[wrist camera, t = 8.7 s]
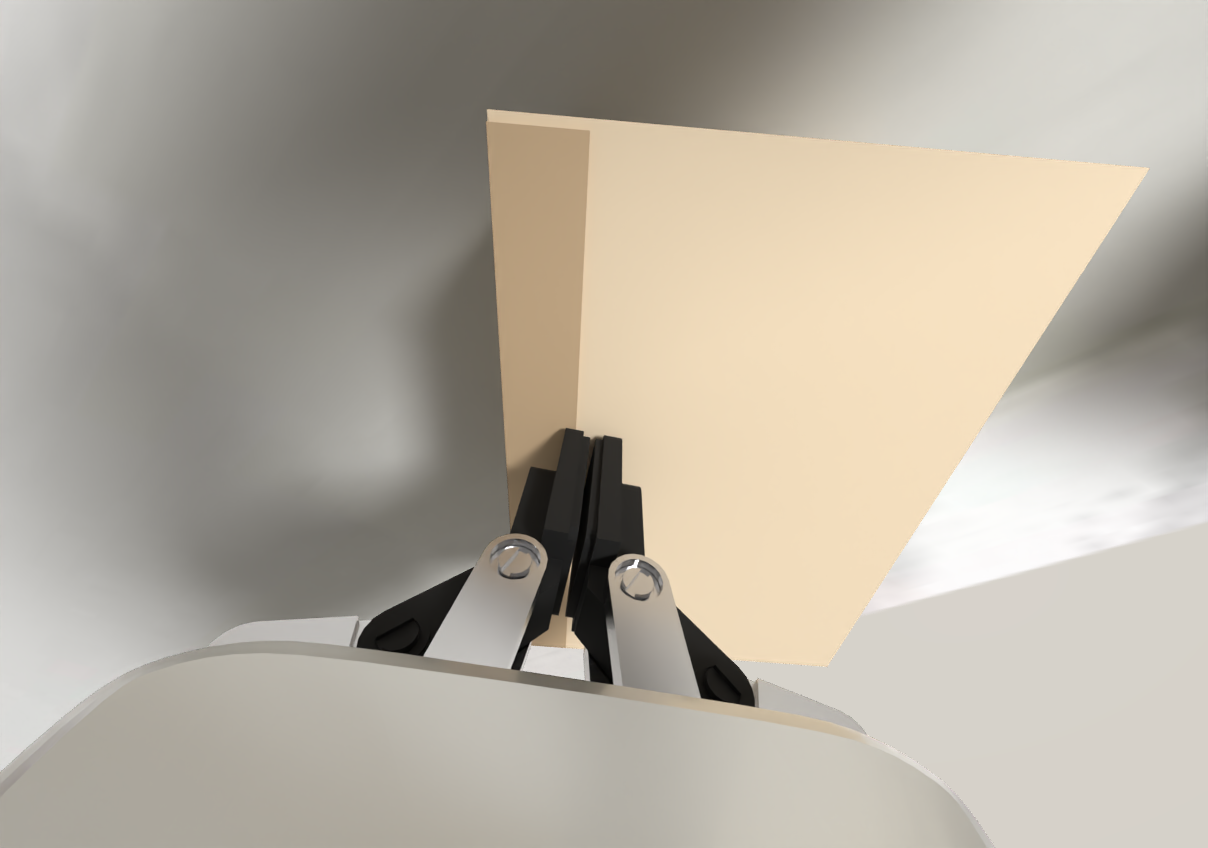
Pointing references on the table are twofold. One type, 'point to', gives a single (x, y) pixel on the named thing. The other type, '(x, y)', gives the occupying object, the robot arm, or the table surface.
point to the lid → (772, 342)
